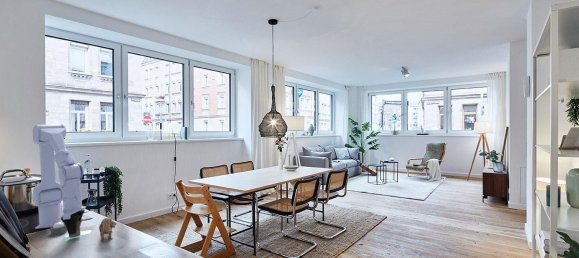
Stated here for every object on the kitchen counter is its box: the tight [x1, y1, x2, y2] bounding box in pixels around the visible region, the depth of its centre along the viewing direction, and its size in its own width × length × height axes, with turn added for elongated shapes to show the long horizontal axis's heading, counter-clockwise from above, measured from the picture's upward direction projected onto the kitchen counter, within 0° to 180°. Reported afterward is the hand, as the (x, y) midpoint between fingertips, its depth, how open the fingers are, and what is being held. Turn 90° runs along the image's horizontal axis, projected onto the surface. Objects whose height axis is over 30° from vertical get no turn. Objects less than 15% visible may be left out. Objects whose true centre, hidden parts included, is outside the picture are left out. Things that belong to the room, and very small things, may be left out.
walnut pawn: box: [69, 221, 81, 238], centre depth 114 cm, size 4×4×5 cm
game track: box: [59, 225, 96, 243], centre depth 119 cm, size 15×8×1 cm, turn 20°
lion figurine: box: [98, 217, 117, 243], centre depth 115 cm, size 15×5×9 cm, turn 38°
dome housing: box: [49, 223, 68, 237], centre depth 120 cm, size 5×5×3 cm
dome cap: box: [53, 222, 64, 228], centre depth 120 cm, size 4×4×4 cm
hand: (74, 232), depth 114 cm, fingers closed on walnut pawn, 3 cm apart
